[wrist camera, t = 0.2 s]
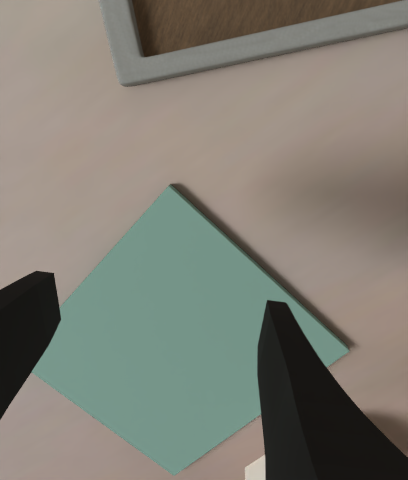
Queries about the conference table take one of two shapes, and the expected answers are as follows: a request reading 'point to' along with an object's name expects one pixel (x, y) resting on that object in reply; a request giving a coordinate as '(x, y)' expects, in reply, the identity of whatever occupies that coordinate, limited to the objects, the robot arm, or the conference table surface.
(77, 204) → the conference table surface
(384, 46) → the conference table surface
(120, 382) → the mat
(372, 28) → the picture frame
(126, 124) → the conference table surface
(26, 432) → the conference table surface
